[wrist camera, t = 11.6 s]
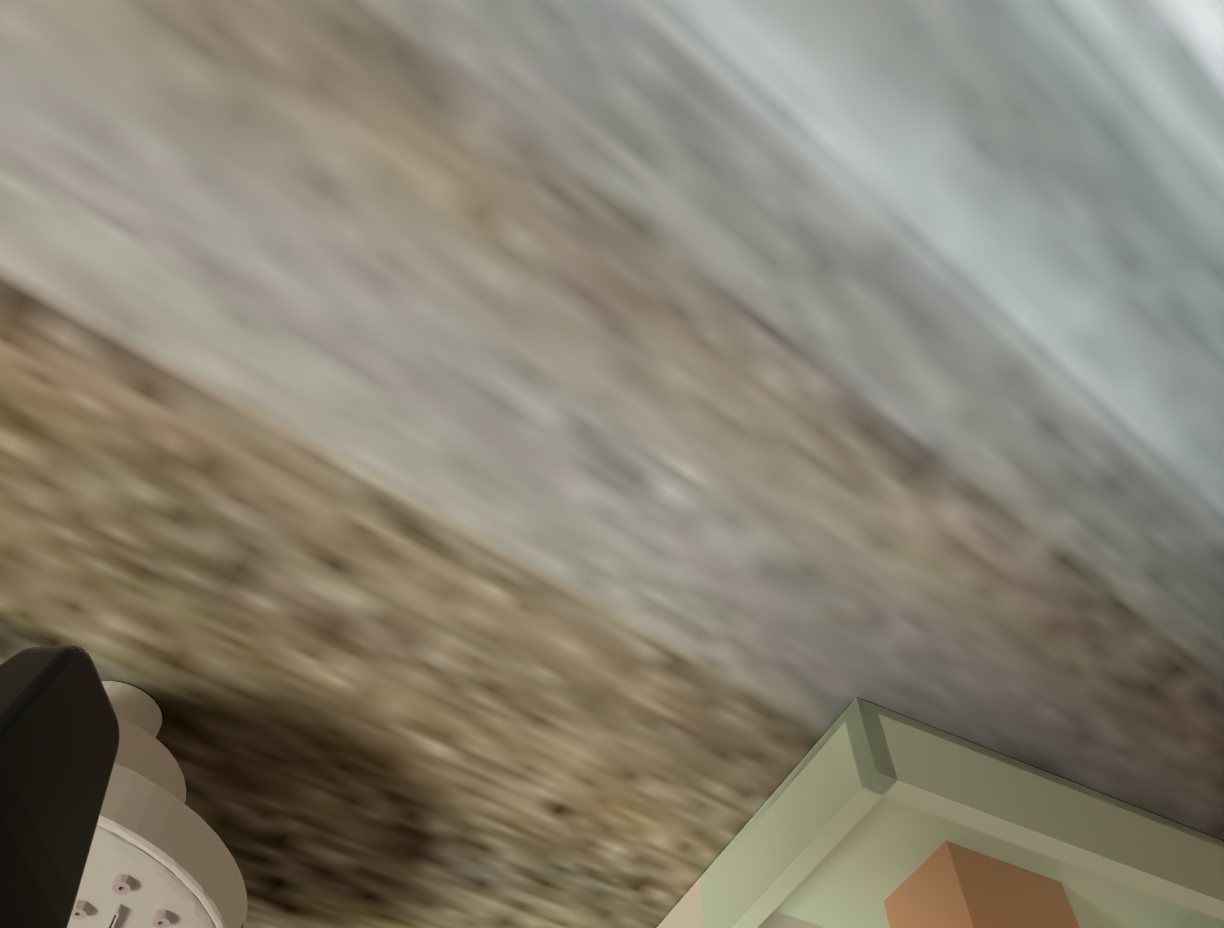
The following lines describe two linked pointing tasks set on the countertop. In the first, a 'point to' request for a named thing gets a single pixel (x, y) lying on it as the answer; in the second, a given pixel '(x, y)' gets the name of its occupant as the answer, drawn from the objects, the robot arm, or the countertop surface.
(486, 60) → the countertop surface
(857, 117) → the countertop surface
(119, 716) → the showerhead
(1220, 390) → the countertop surface
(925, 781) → the tray
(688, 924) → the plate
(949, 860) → the peach rectangular box
